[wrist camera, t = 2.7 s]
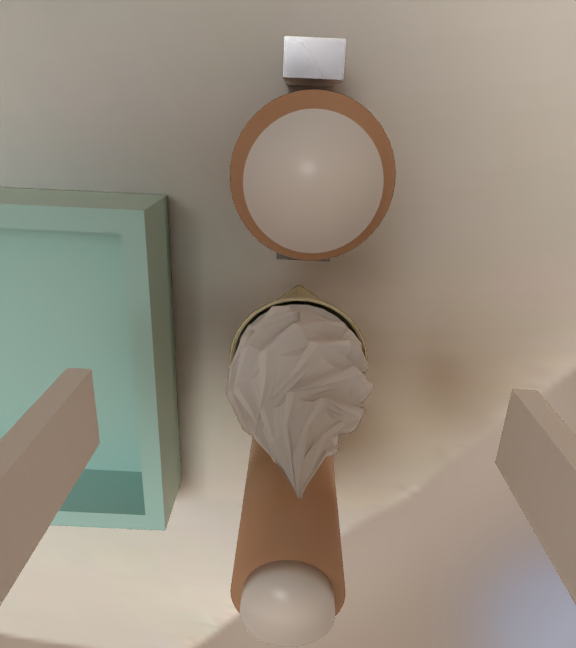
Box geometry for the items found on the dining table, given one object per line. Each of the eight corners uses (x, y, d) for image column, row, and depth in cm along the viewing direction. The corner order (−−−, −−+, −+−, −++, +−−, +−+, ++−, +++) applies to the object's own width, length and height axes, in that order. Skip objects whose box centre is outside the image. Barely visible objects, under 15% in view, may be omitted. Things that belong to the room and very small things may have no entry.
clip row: (288, 53, 22) (284, 36, 16) (334, 55, 22) (346, 38, 16) (272, 460, 30) (266, 539, 25) (306, 462, 30) (308, 541, 25)
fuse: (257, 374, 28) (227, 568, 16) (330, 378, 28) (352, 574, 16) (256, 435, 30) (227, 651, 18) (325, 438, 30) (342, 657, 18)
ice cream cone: (272, 348, 27) (244, 591, 14) (233, 263, 26) (157, 444, 12) (361, 316, 27) (428, 541, 13) (328, 226, 25) (364, 375, 11)
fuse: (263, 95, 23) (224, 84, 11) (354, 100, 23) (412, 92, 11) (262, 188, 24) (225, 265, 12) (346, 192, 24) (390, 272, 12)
